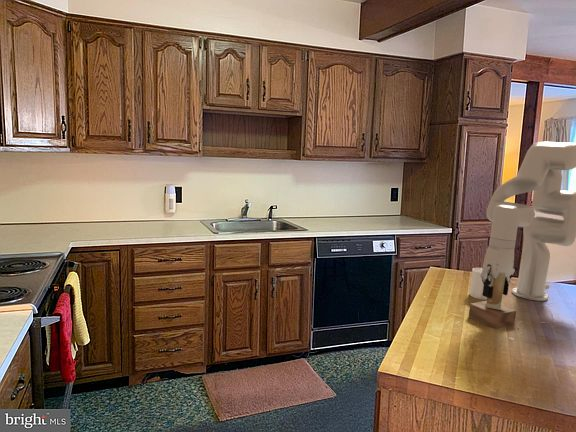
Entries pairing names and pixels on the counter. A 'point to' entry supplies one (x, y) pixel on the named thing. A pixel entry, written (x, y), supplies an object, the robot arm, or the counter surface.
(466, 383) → the counter surface
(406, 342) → the counter surface
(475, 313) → the walnut block
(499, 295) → the skincare box
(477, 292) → the mug
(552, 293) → the counter surface
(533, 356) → the counter surface
